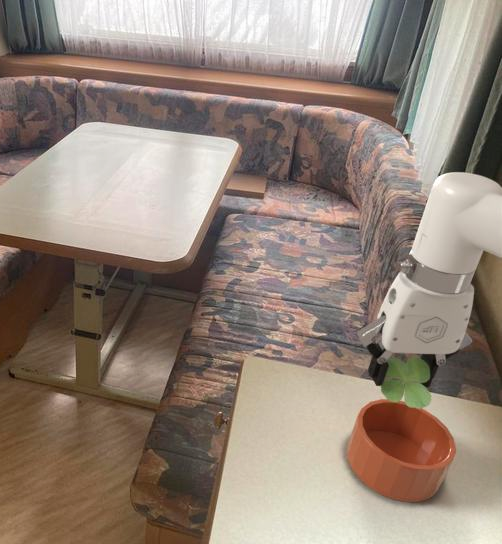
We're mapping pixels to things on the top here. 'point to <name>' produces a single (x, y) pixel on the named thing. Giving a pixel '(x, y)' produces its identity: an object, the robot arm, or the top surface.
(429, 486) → the planter
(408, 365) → the green leafy piece
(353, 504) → the top surface
